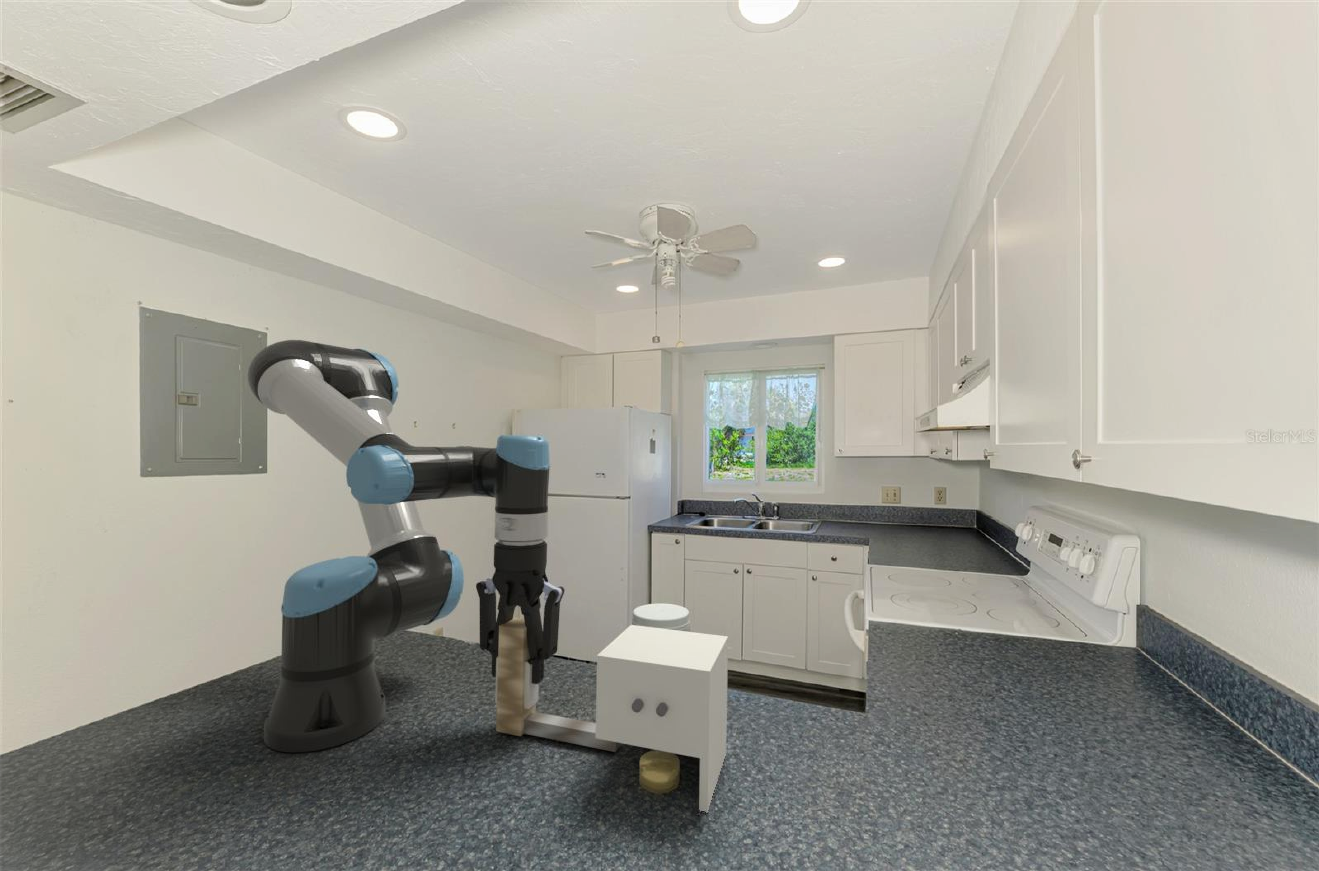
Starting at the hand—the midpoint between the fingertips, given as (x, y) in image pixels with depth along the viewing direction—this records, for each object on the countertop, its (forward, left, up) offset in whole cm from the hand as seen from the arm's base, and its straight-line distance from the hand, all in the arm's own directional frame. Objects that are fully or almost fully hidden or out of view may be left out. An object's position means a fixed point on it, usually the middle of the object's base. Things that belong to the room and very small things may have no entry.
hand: (516, 701), depth 79 cm
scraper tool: (+7, 0, -4) cm, 8 cm away
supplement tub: (+17, +15, -4) cm, 24 cm away
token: (+23, -5, -4) cm, 24 cm away
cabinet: (+23, -3, -4) cm, 24 cm away
